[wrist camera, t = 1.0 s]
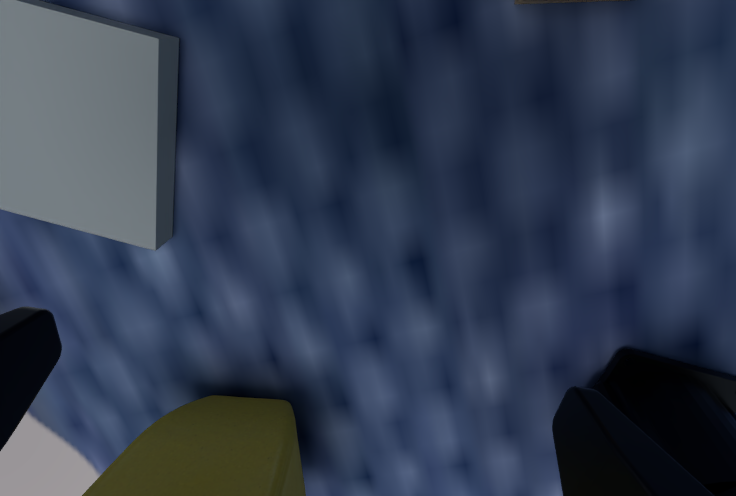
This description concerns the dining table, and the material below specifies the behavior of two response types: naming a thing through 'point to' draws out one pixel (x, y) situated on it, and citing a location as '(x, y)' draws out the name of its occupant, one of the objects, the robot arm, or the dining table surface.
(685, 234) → the dining table surface
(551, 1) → the walnut cube
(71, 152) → the slate plinth
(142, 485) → the flower pot
